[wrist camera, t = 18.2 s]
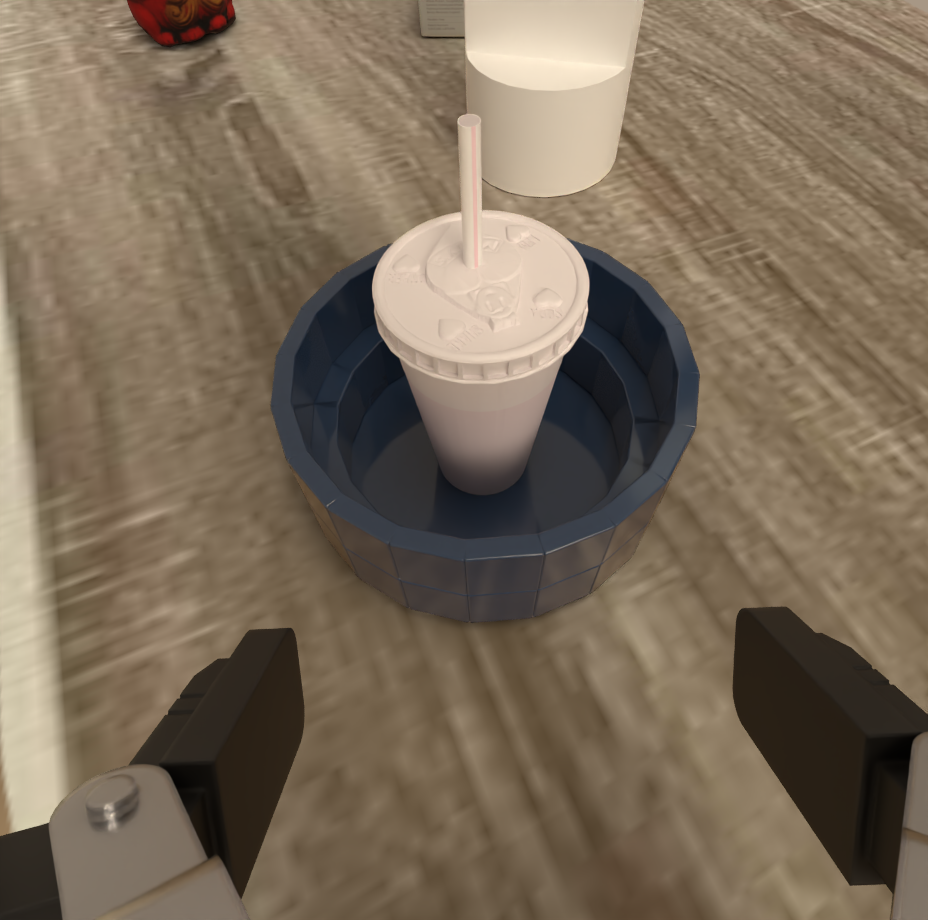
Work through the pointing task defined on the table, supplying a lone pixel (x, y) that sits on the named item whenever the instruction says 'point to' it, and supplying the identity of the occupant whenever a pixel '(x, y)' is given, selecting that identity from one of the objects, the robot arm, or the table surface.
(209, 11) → the red clay folk toy
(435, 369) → the smoothie
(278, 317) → the table surface
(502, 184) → the base with upright slab
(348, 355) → the bowl
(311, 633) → the table surface
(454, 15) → the product carton
